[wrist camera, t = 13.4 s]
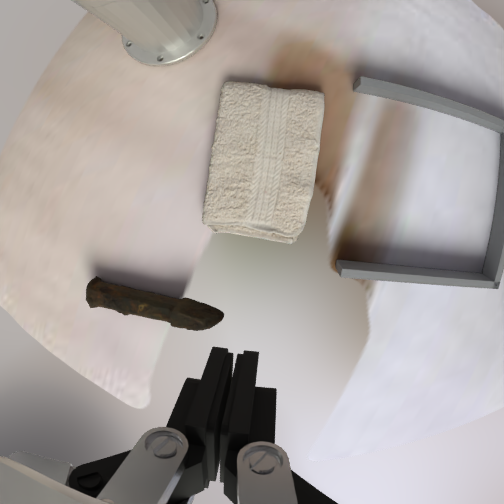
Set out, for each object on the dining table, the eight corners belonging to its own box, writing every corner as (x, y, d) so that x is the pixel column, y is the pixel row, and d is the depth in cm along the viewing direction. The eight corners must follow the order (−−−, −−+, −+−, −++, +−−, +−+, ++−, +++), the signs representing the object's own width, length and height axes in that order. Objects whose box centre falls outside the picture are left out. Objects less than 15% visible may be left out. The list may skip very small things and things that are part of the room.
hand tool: (98, 298, 42) (82, 311, 37) (97, 273, 41) (80, 285, 36) (222, 329, 41) (215, 347, 37) (226, 303, 40) (219, 320, 36)
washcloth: (204, 228, 38) (198, 233, 35) (222, 82, 33) (218, 75, 30) (302, 242, 37) (304, 249, 34) (323, 95, 32) (327, 89, 29)
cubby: (353, 83, 31) (360, 76, 28) (506, 129, 30) (521, 128, 26) (335, 267, 37) (340, 277, 34) (485, 280, 36) (498, 288, 33)
